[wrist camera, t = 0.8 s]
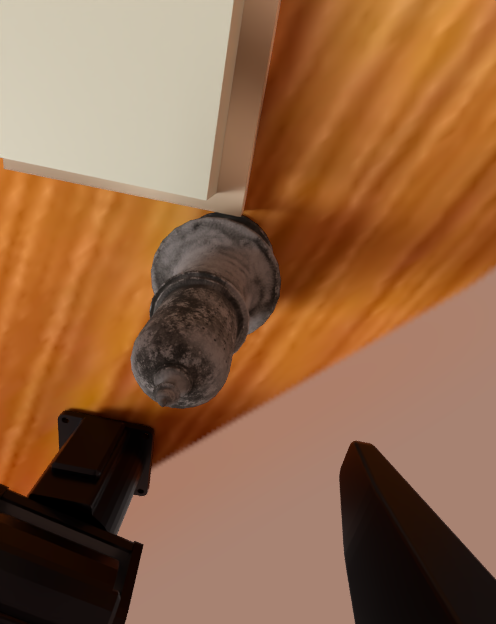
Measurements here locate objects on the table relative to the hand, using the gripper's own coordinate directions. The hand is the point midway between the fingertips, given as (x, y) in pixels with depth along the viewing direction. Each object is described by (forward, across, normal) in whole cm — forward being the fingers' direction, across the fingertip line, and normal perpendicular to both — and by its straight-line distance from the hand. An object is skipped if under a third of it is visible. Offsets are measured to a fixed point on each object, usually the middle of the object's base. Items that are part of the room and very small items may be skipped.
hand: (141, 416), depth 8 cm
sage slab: (+11, +5, -8) cm, 14 cm away
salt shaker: (+13, 0, 0) cm, 13 cm away
